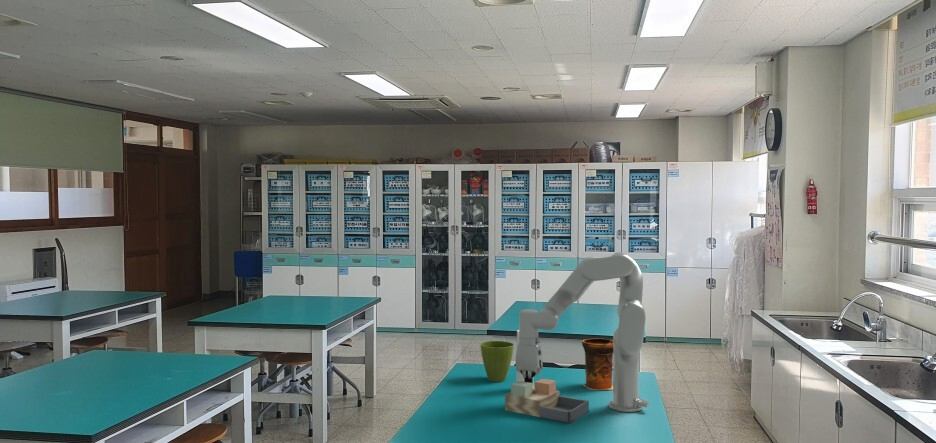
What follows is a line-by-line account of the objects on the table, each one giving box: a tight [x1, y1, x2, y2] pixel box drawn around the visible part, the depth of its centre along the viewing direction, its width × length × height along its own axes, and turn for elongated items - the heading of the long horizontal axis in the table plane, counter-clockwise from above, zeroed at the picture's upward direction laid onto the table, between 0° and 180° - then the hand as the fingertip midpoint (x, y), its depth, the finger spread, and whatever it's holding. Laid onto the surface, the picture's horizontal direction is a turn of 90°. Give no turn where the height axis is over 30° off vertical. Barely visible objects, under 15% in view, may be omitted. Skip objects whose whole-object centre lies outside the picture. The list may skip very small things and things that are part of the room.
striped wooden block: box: [504, 385, 560, 418], centre depth 257 cm, size 15×16×6 cm
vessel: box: [581, 337, 614, 391], centre depth 287 cm, size 14×14×20 cm
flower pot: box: [479, 340, 515, 383], centre depth 298 cm, size 15×15×16 cm
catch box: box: [539, 395, 590, 424], centre depth 249 cm, size 12×17×4 cm
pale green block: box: [510, 380, 533, 397], centre depth 254 cm, size 6×6×4 cm
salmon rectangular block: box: [534, 378, 557, 395], centre depth 258 cm, size 6×6×4 cm
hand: (528, 387), depth 262 cm, fingers closed
